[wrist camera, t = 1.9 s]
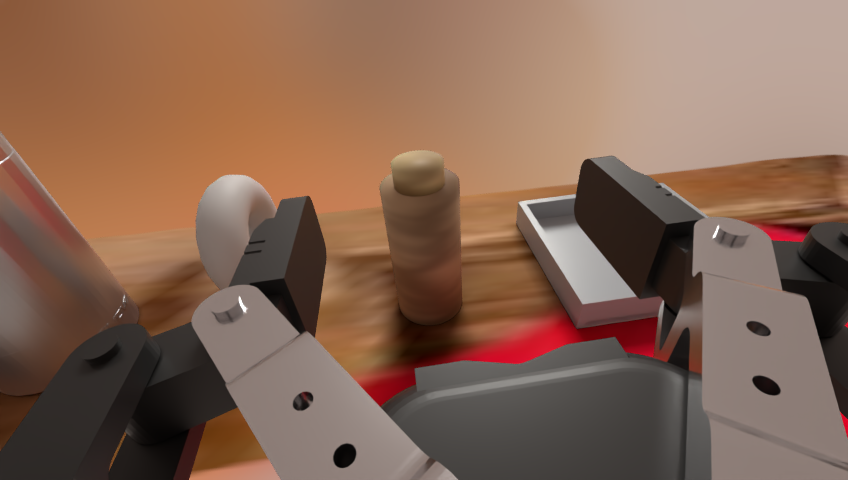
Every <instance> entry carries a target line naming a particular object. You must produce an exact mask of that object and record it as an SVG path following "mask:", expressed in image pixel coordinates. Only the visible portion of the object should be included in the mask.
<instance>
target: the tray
mask: <svg viewBox="0 0 848 480" xmlns="http://www.w3.org/2000/svg"><path fill="white" fill-rule="evenodd" d="M659 184H660V185H661V186H662V188H666V189H667V190H668V191H670V192H671V193H672V196H673V195H675V196H676V197H678V198H679V199H681V200H682V201H683V202H685V203H686V204H687V205H689V206H690V207H691V208H693V209H694V210H696V211H697V212H698V213H700V214H701V215H702V216H704V217H705V218H708V216H707V215H705V214H704V213H703V212H701V211H700V210H699V209H697V208H696V207H695V206H693V205H692V204H691V203H689V202H688V201H687V200H685V199H684V198H682V197H681V196H680V195H678V194H677V193H676V192H674V191H673V190H672V189H670V188H669V187H668V186H666V185H665V184H664V183H659ZM575 198H576V194H574V195H567V196H559V197H551V198H544V199H536V200H528V201H521V202H518V209H517V221H516V224H517V226H518V227H519V229H520V231H521V233H522V234H523V236H524V238H525V240H526V241H527V243H528V245H529V247H530V248H531V250H532V252H533V254H534V255H535V257H536V259H537V261H538V262H539V264H540V266H541V268H542V269H543V271H544V273H545V275H546V276H547V278H548V280H549V282H550V283H551V285H552V287H553V289H554V290H555V292H556V294H557V296H558V297H559V299H560V301H561V303H562V304H563V306H564V308H565V310H566V311H567V313H568V315H569V317H570V318H571V320H572V322H573V324H574V325H575V327H576V329H578V328H585V327H591V326H598V325H605V324H611V323H618V322H625V321H631V320H638V319H645V318H652V317H658V315H659V309H660V306H661V304H662V301H663V299H662V298H661V297H660V296H659V297H652V298H646V299H639V298H638V297H637V296H636V295H635V294H634V292H633V291H632V290H631V289H630V288H629V286H628V285H627V284H626V283H625V281H624V280H623V279H622V278H621V277H620V275H619V274H618V273H617V272H616V270H615V269H614V268H613V267H612V266H611V264H610V263H609V262H608V261H607V260H606V258H605V257H604V256H603V255H602V253H601V252H600V251H599V250H598V249H597V247H596V246H595V245H594V244H593V243H592V241H591V240H590V239H589V238H588V236H587V235H586V234H585V233H584V232H583V230H582V229H581V228H580V227H579V225H578V224H577V222H576V219H575V215H574V203H575Z"/></svg>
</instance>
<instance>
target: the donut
mask: <svg viewBox="0 0 848 480" xmlns="http://www.w3.org/2000/svg"><path fill="white" fill-rule="evenodd" d="M276 212H277V209H276V207H275V205H274V203H273V201H272V200H271V197H270V195H269V194H268V193H267V191H266V190H265V189H264V187H263V186H261V185H260V184H259V183H258V182H256V181H255V180H253V179H252V178H250V177H247V176H244V175H226V176H222V177H220V178H219V179H218V180H216V181H215V182H214V183H212V184H211V185H210V186H208V187H207V189H206V191H205V193H204V195H203V196H202V198H201V201H200V203H199V205H198V211H197V216H196V240H197V245H198V249H199V253H200V257H201V260H202V263H203V265H204V267H205V269H206V271H207V273H208V275H209V277H210V278H211V279H212V280H213V282H214V283H215V284H216V285H217V287H218V288H219V289H220V290H223V289H225V288H228V287H229V284H230V282H231V280H232V278H233V275H234V273H235V271H236V269H237V266H238V264H239V262H240V260H241V257H242V255H244V251H245V248H246V246H247V245H249V244H248V242H249V239H250V237H251V235H252V233H253V230H254V229H256V228H257V227H258V226H259V225H260V224H261V223H262V222H263V221H264V220H265V219H269V218H274V217H275V214H276Z"/></svg>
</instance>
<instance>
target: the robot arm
mask: <svg viewBox="0 0 848 480" xmlns="http://www.w3.org/2000/svg"><path fill="white" fill-rule="evenodd" d="M574 215H575V219H576V222H577V224H578V225H579V227H580V228H581V229H582V230H583V232H584V233H585V234H586V235H587V236H588V238H589V239H590V240H591V241H592V243H593V244H594V245H595V246H596V247H597V249H598V250H599V251H600V252H601V253H602V255H603V256H604V257H605V258H606V260H607V261H608V262H609V263H610V264H611V266H612V267H613V268H614V269H615V270H616V272H617V273H618V274H619V275H620V277H621V278H622V279H623V280H624V281H625V283H626V284H627V285H628V286H629V288H630V289H631V290H632V291H633V292H634V294H635V295H636V296H637V297H638V298H639V299H646V298H652V297H659V296H660V297H661V298H662V299H663V301H662V304H661V306H660V309H659V315H658V323H657V331H656V339H655V348H654V356H653V358H652V357H648V356H644V355H639V354H633V353H626V352H625V351H624V349H623V348H622V346H621V345H620V343H619V342H618V340H617V339H616V337H611V338H605V339H599V340H592V341H586V342H580V343H573V344H567V345H564V346H562V347H560V348H557V349H555V350H553V351H551V352H548V353H546V354H544V355H541V356H539V357H537V358H534V359H532V360H530V361H527V362H525V363H521V364H508V363H493V362H479V361H459V362H452V363H446V364H440V365H433V366H427V367H420V368H415V377H416V385H413V386H411V387H409V388H407V389H405V390H403V391H401V392H400V393H398V394H396V395H395V396H393V397H392V398H391V399H389V400H388V401H387V402H385V403H384V404H383V405H382V406H381V407H380V406H379V405H378V404H377V403H376V402H375V401H374V400H373V399H372V398H371V397H370V396H369V395H368V394H367V393H366V392H365V391H364V390H363V389H362V387H361V386H360V385H359V384H358V383H357V382H356V381H355V380H354V379H353V378H352V377H351V376H350V375H349V374H348V373H347V372H346V371H345V370H344V369H343V367H342V366H341V365H340V364H339V363H338V362H337V361H336V360H335V359H334V358H333V357H332V356H331V355H330V354H329V353H328V352H327V351H326V350H325V348H324V347H323V346H322V345H321V344H320V343H319V342H318V341H317V340H316V339H315V333H316V326H317V320H318V313H319V306H320V299H321V292H322V286H323V279H324V272H325V265H326V247H325V242H324V238H323V235H322V232H321V229H320V225H319V222H318V219H317V215H316V212H315V209H314V206H313V203H312V200H311V198H310V197H309V196H304V197H296V198H289V199H283V200H281V202H280V204H279V207H278V209H277V212H276V214H275V217H274V218H269V219H265V220H264V221H263V222H262V223H261V224H260V225H259V226H258V227H257V228H256V229H254V230H253V233H252V235H251V237H250V239H249V242H248V244H249V245H247V246H246V248H245V251H244V255H242V257H241V260H240V262H239V264H238V266H237V269H236V271H235V273H234V275H233V278H232V280H231V282H230V284H229V287H228V288H225V289H223V290H220V291H218V292H216V293H214V294H213V295H211V296H210V297H208V298H207V299H206V300H204V301H203V302H202V303H201V304H200V305H199V306H198V308H197V309H196V310H195V312H194V314H193V317H192V322H190V323H188V324H185V325H183V326H180V327H177V328H175V329H172V330H169V331H166V332H164V333H161V334H158V335H156V336H153V337H151V335H150V334H149V333H148V332H147V330H146V329H145V328H144V327H143V326H141V325H139V324H137V322H138V317H139V310H138V307H137V305H136V304H135V303H134V301H133V300H132V299H131V298H130V296H129V295H128V294H127V292H126V291H125V290H124V289H123V287H122V286H121V285H120V283H119V282H118V281H117V279H116V278H115V277H114V276H113V274H112V273H111V272H110V270H109V269H108V268H107V266H106V265H105V264H104V262H103V261H102V260H101V259H100V257H99V256H98V255H97V254H96V252H95V251H94V250H93V248H92V247H91V246H90V245H89V243H88V242H87V241H86V240H85V238H84V237H83V236H82V234H81V233H80V232H79V231H78V229H77V228H76V227H75V226H74V224H73V223H72V222H71V220H70V219H69V218H68V217H67V215H66V214H65V213H64V212H63V210H62V209H61V208H60V206H59V205H58V204H57V203H56V201H55V200H54V199H53V198H52V196H51V195H50V194H49V192H48V191H47V190H46V189H45V187H44V186H43V185H42V183H41V182H40V181H39V180H38V178H37V177H36V176H35V175H34V173H33V172H32V171H31V169H30V168H29V167H28V166H27V165H26V163H25V162H24V161H23V159H22V158H21V157H20V156H19V154H18V153H17V152H16V150H15V149H14V148H13V147H12V146H11V144H10V143H9V142H8V141H7V139H6V138H5V137H4V136H3V134H2V133H1V132H0V392H2V393H4V394H7V395H14V396H23V395H31V394H36V393H40V392H43V393H42V394H41V395H40V397H39V398H38V400H37V401H36V402H35V404H34V405H33V407H32V408H31V409H30V411H29V412H28V414H27V415H26V416H25V418H24V419H23V421H22V422H21V423H20V425H19V426H18V428H17V429H16V430H15V432H14V433H13V435H12V436H11V437H10V439H9V440H8V442H7V443H6V444H5V446H4V447H3V449H2V450H1V451H0V480H189V478H190V474H191V471H192V468H193V464H194V461H195V458H196V454H197V451H198V448H199V444H200V441H201V438H202V434H203V431H204V428H205V424H206V421H208V420H210V419H213V418H215V417H217V416H219V415H221V414H224V413H226V412H228V411H230V410H232V409H235V408H237V407H238V408H239V410H240V411H241V413H242V415H243V416H244V418H245V420H246V422H247V423H248V425H249V427H250V428H251V430H252V432H253V433H254V435H255V437H256V438H257V440H258V442H259V444H260V445H261V447H262V449H263V450H264V452H265V454H266V455H267V457H268V459H269V460H270V462H271V464H272V465H273V467H274V469H275V471H276V472H277V474H278V476H279V477H280V479H281V480H848V439H847V435H846V432H845V428H844V424H843V421H842V417H841V414H840V412H841V413H842V414H843V415H844V416H845V417H846V418H847V419H848V328H847V327H846V326H845V325H846V323H847V322H848V224H846V223H837V222H825V223H819V224H816V225H814V226H813V227H812V228H811V229H810V231H809V233H808V234H807V236H806V237H805V239H804V240H803V242H791V241H773V240H771V239H770V237H769V236H768V235H767V234H766V233H765V232H764V231H762V230H761V229H759V228H757V227H755V226H753V225H751V224H749V223H746V222H743V221H740V220H736V219H731V218H725V217H708V218H705V217H704V216H702V215H701V214H700V213H698V212H697V211H696V210H694V209H693V208H691V207H690V206H689V205H687V204H686V203H685V202H683V201H682V200H681V199H679V198H678V197H676V196H675V195H673V196H672V193H671V192H670V191H668V190H667V189H666V188H662V186H661V185H660V184H659V183H657V182H656V181H655V180H653V179H652V178H651V177H649V176H647V175H644V174H641V173H639V172H636V171H634V170H632V169H631V168H629V167H628V166H627V165H625V164H624V163H623V162H621V161H620V160H619V159H617V158H616V157H615V156H606V157H599V158H591V159H586V160H585V161H584V162H583V164H582V166H581V170H580V175H579V182H578V187H577V192H576V198H575V203H574ZM124 432H126V433H127V434H126V436H125V438H124V441H123V443H122V445H121V447H120V449H119V451H118V453H117V456H116V458H115V460H114V462H113V464H112V466H111V468H110V471H109V466H110V463H111V460H112V457H113V455H114V453H115V451H116V449H117V447H118V445H119V442H120V440H121V438H122V436H123V434H124Z"/></svg>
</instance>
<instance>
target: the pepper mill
mask: <svg viewBox="0 0 848 480" xmlns="http://www.w3.org/2000/svg"><path fill="white" fill-rule="evenodd" d="M391 169H392V174H390V175H388V176H387V177H386V178H384V179H383V181H382V182H381V184H380V194H381V200H382V206H383V212H384V218H385V224H386V230H387V236H388V242H389V248H390V254H391V259H392V265H393V271H394V277H395V283H396V289H397V295H398V301H399V307H400V310H401V312H402V314H403V315H404V316H405V317H406V318H407V319H408V320H410V321H412V322H414V323H417V324H420V325H437V324H441V323H444V322H446V321H448V320H450V319H452V318H453V317H454V316H455V315H456V314H457V313H458V312H459V310H460V308H461V305H462V277H461V231H460V187H459V186H460V185H459V178H458V176H457V175H456V174H455V173H453V172H452V171H450V170H448V169H445V168H444V158H443V156H442V155H440V154H439V153H436V152H433V151H426V150H417V151H410V152H406V153H403V154H401V155H398V156H397V157H395V158H394V159H393V160H392V161H391Z"/></svg>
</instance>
